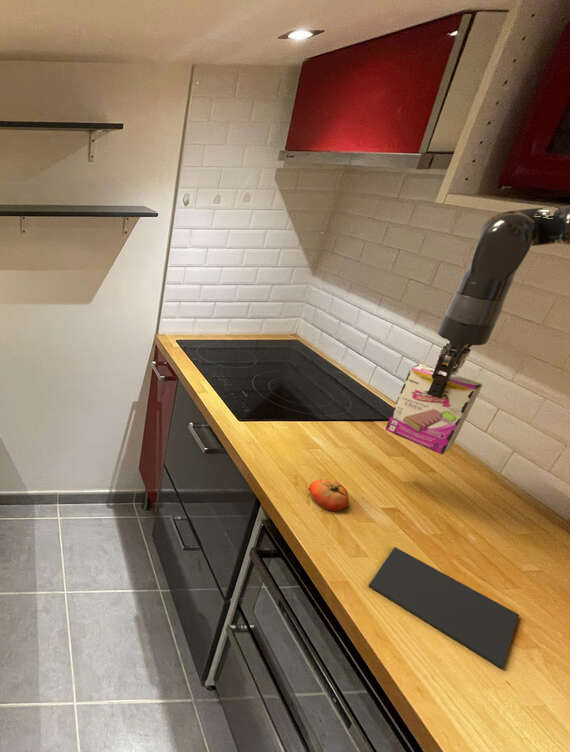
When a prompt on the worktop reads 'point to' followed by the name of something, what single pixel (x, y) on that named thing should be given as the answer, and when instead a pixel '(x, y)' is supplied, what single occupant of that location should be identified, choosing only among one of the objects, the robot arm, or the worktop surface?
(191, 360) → the worktop surface
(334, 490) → the tomato
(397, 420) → the candy bar box
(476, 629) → the mat
